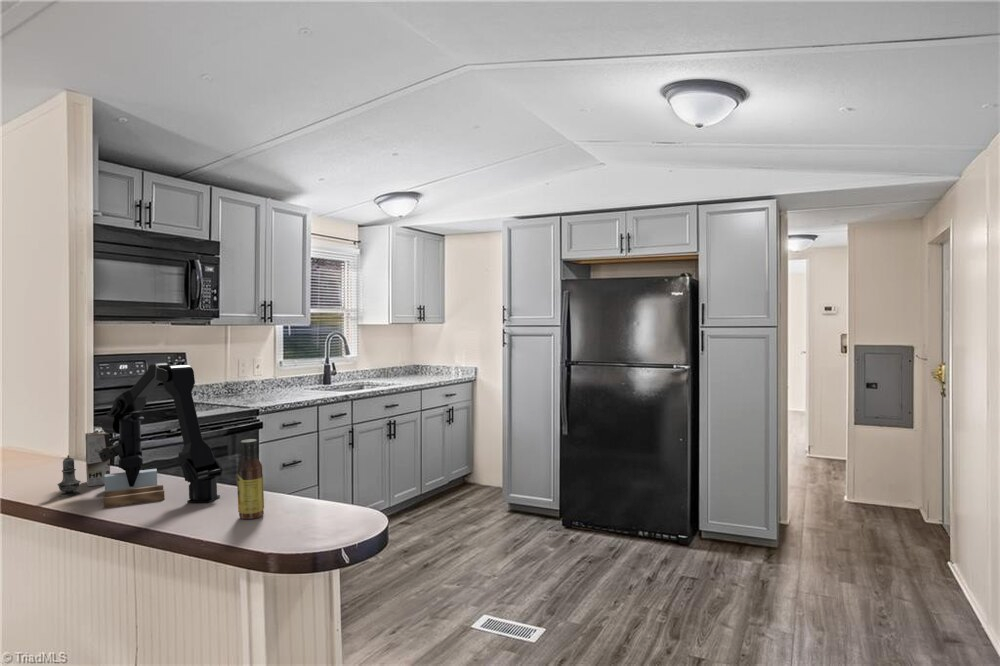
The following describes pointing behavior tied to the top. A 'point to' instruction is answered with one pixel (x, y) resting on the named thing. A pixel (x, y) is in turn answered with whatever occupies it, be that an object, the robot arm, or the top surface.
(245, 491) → the sauce bottle
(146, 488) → the cradle
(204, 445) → the robot arm
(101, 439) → the coffee box
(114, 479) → the pale grey-blue bar
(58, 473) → the top surface
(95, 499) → the top surface
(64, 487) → the salt shaker
